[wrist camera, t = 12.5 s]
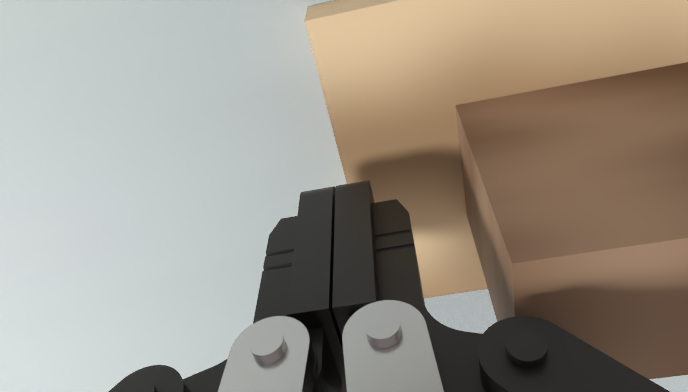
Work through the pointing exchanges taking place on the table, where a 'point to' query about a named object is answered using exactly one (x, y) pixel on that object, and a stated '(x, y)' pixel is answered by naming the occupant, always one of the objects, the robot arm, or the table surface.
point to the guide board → (462, 91)
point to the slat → (587, 210)
